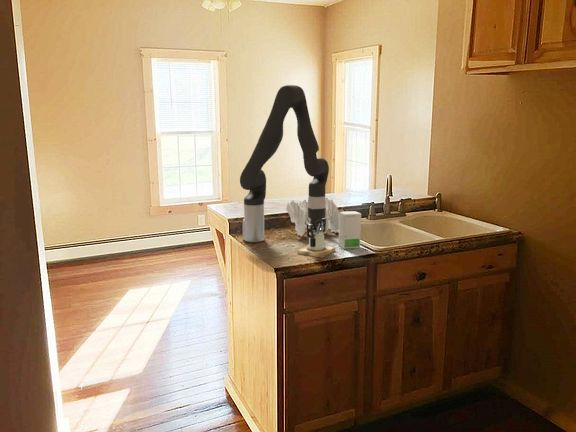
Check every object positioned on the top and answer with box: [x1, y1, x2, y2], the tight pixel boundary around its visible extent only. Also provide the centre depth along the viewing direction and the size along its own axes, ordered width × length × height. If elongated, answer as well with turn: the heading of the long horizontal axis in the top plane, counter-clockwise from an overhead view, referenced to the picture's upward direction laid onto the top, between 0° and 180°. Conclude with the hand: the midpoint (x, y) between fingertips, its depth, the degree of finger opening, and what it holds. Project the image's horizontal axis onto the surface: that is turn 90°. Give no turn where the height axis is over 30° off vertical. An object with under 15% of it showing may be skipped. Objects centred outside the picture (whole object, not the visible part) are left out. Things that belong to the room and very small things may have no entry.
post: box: [296, 243, 336, 259], centre depth 216 cm, size 12×12×6 cm
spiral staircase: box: [285, 197, 340, 238], centre depth 245 cm, size 18×18×25 cm
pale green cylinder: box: [308, 230, 325, 250], centre depth 215 cm, size 6×6×8 cm
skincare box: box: [337, 210, 362, 250], centre depth 223 cm, size 8×7×16 cm
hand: (316, 244), depth 215 cm, fingers closed on pale green cylinder, 6 cm apart
